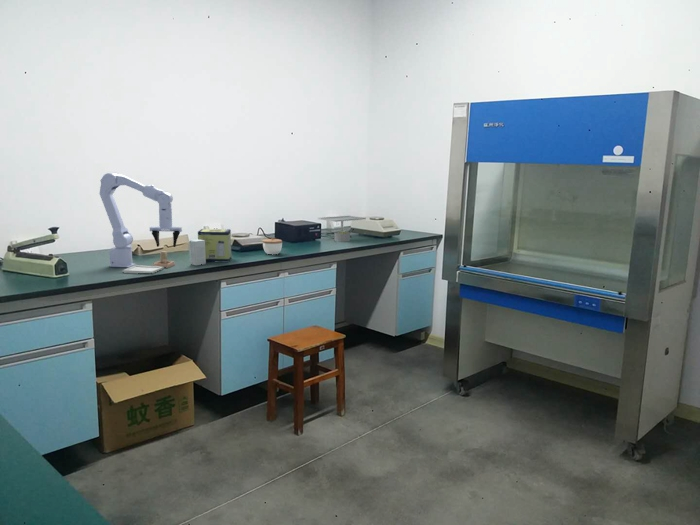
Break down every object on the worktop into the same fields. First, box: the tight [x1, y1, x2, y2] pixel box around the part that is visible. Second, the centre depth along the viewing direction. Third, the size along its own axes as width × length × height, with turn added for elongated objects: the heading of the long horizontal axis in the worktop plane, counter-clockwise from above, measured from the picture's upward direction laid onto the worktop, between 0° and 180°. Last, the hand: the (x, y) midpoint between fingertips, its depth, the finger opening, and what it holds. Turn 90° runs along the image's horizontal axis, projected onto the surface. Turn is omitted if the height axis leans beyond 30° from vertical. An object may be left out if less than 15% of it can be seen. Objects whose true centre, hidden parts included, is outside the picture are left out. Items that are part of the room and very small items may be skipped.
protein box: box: [197, 228, 232, 263], centre depth 288 cm, size 10×16×16 cm
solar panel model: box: [317, 215, 367, 243], centre depth 367 cm, size 28×17×15 cm, turn 133°
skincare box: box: [189, 239, 207, 266], centre depth 276 cm, size 6×4×12 cm
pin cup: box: [152, 260, 176, 269], centre depth 270 cm, size 7×7×2 cm
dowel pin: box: [159, 250, 168, 264], centre depth 270 cm, size 3×3×7 cm
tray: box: [121, 264, 164, 274], centre depth 258 cm, size 14×12×1 cm
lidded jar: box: [262, 236, 283, 256], centre depth 310 cm, size 11×11×9 cm
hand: (166, 246), depth 268 cm, fingers open, 7 cm apart
